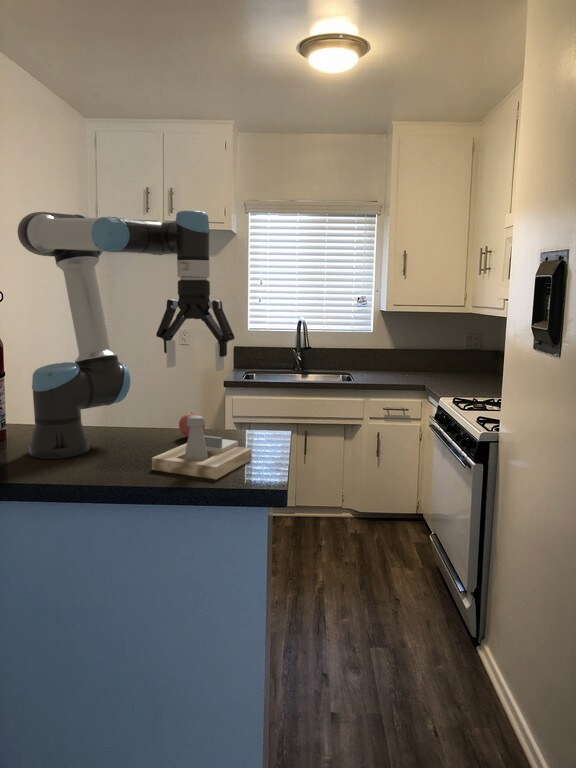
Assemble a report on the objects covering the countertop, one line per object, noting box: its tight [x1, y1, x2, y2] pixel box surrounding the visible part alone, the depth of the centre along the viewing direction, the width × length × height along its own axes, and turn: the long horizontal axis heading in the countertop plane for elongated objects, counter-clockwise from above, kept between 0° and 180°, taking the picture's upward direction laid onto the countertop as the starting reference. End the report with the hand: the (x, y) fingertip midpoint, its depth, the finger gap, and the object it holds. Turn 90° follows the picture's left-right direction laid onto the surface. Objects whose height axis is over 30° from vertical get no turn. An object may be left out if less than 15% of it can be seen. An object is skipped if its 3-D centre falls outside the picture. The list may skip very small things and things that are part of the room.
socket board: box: [151, 442, 252, 480], centre depth 157 cm, size 18×18×3 cm
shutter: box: [204, 434, 239, 453], centre depth 162 cm, size 8×8×4 cm
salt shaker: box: [184, 415, 208, 462], centre depth 154 cm, size 6×6×13 cm
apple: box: [178, 411, 206, 438], centre depth 183 cm, size 7×7×8 cm
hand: (195, 368), depth 151 cm, fingers open, 13 cm apart
